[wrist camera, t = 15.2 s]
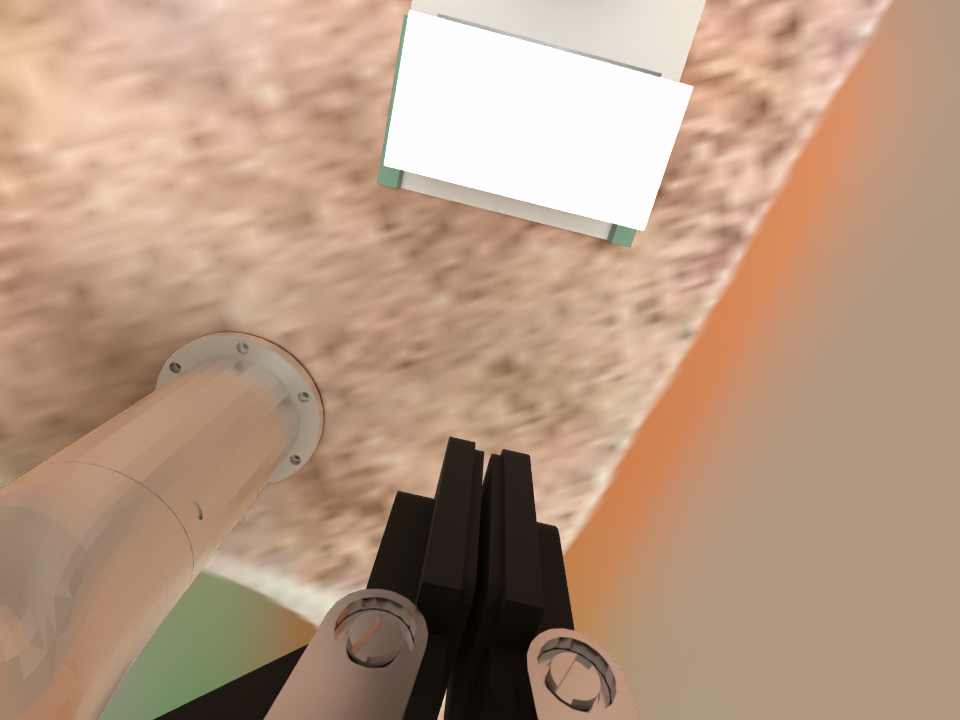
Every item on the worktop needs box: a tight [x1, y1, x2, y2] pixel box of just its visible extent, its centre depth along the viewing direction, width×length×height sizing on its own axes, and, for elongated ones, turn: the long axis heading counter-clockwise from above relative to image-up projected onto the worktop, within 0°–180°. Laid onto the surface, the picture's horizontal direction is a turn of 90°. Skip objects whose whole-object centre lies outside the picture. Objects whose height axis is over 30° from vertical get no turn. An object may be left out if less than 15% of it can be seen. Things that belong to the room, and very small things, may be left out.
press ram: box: [384, 10, 694, 231], centre depth 27 cm, size 7×12×10 cm, turn 77°
